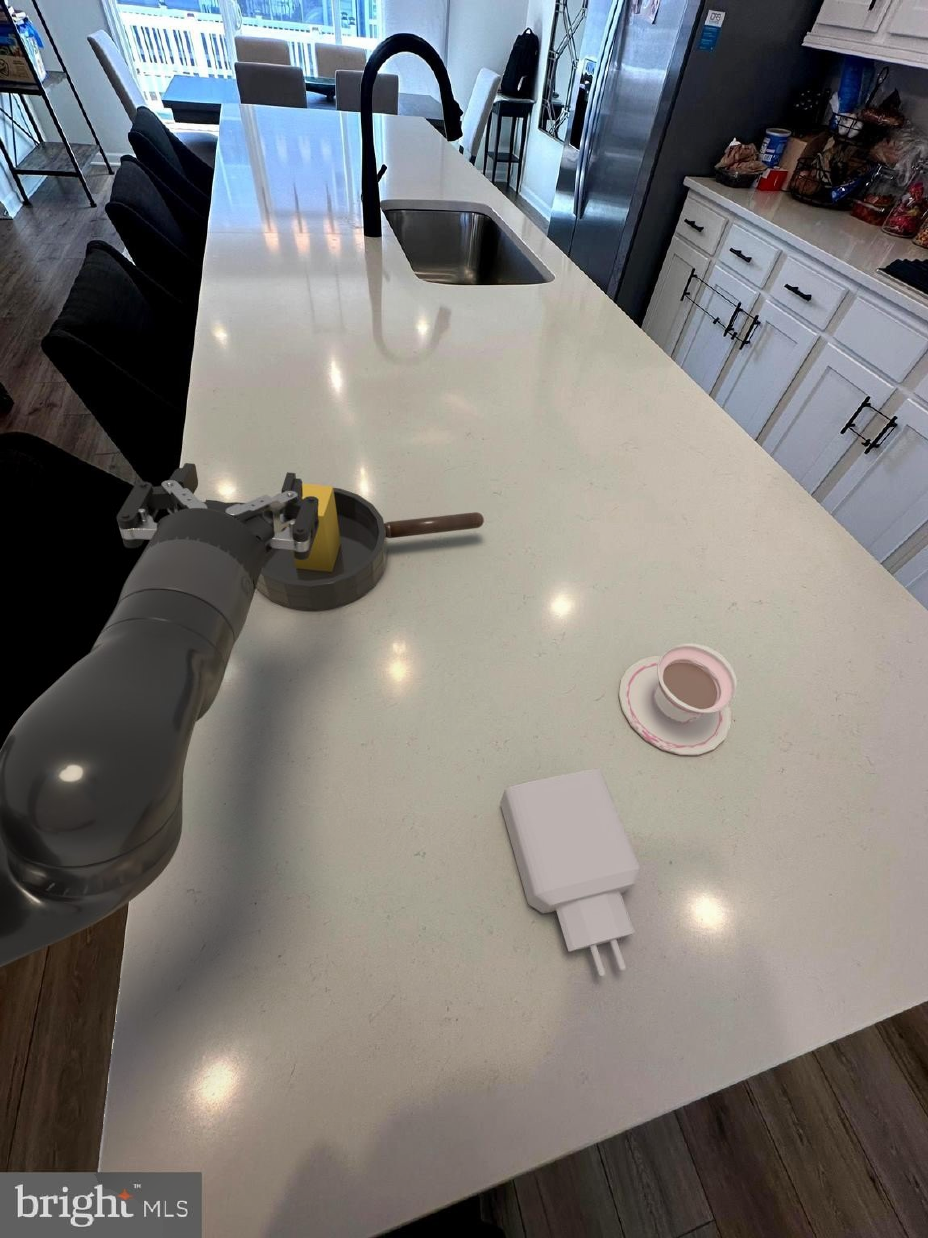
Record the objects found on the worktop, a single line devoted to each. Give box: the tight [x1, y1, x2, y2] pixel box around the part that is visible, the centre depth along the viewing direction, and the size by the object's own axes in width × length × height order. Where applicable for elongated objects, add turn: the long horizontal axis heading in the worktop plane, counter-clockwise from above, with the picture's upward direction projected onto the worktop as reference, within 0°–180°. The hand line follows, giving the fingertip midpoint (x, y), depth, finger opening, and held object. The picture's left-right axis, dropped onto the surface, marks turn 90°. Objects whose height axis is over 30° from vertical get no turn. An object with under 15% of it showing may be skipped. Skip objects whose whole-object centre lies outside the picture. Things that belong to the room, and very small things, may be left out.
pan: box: [256, 487, 388, 612], centre depth 67 cm, size 17×17×4 cm
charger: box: [499, 768, 641, 977], centre depth 47 cm, size 5×9×15 cm
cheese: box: [287, 482, 341, 572], centre depth 65 cm, size 5×4×9 cm
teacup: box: [618, 642, 738, 756], centre depth 58 cm, size 12×12×6 cm
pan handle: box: [384, 511, 485, 539], centre depth 70 cm, size 13×2×2 cm, turn 104°
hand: (243, 477), depth 50 cm, fingers open, 8 cm apart
